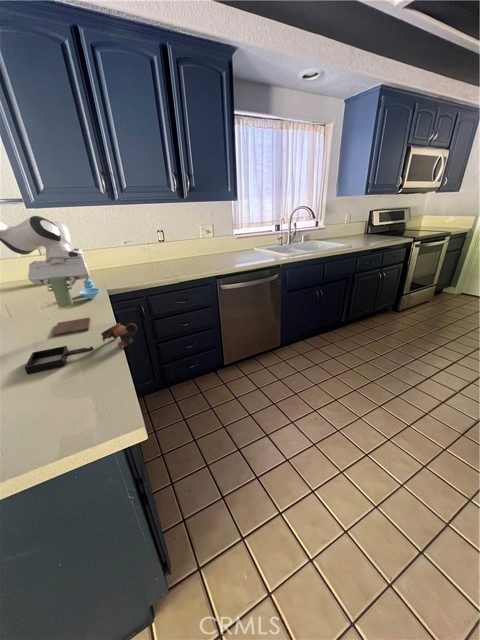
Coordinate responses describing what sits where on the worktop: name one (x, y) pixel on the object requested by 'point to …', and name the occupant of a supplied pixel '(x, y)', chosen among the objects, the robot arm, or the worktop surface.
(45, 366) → the pan
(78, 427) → the worktop surface
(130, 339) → the brown irregular piece
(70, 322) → the board
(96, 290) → the blue conch shell
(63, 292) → the pale green cylinder
